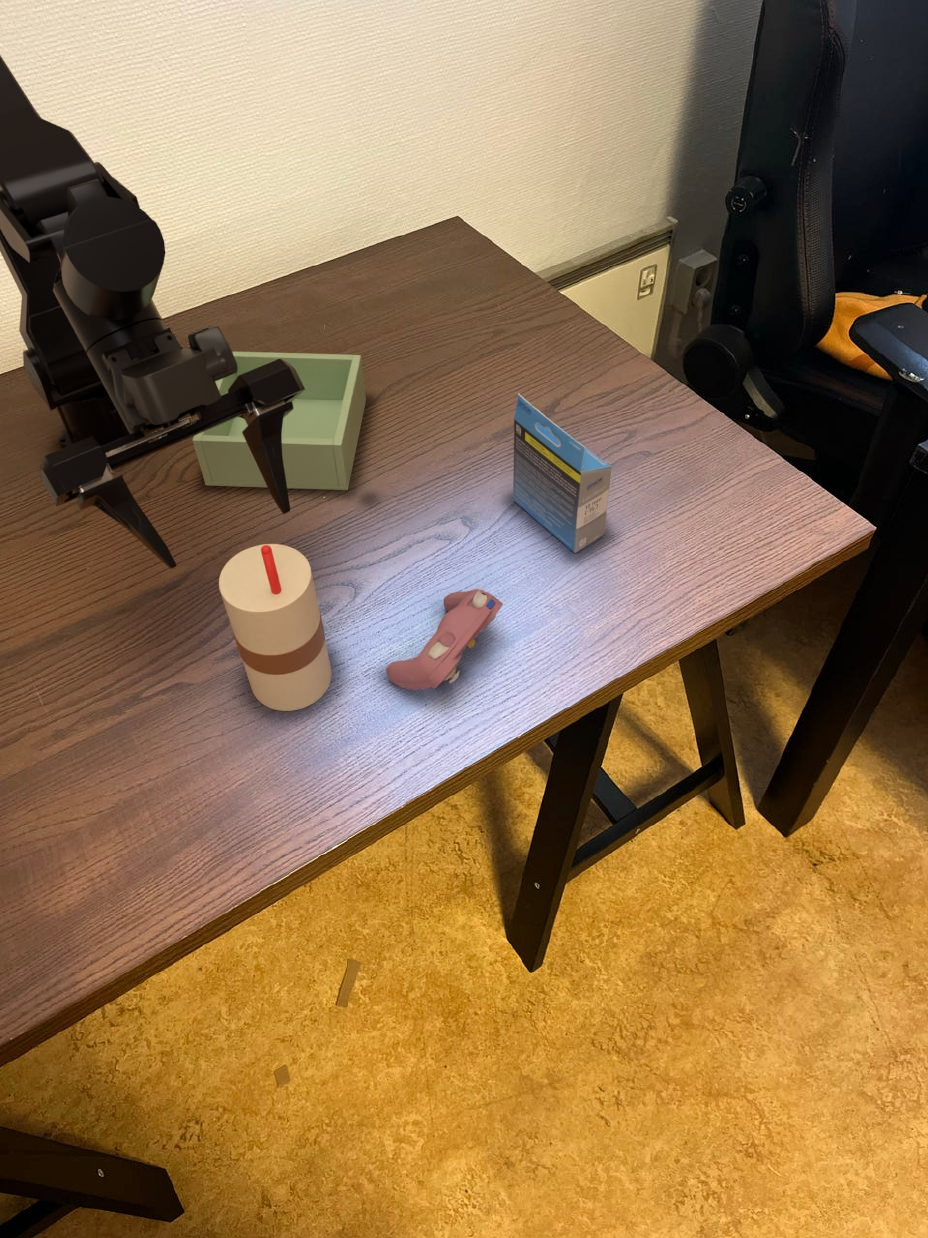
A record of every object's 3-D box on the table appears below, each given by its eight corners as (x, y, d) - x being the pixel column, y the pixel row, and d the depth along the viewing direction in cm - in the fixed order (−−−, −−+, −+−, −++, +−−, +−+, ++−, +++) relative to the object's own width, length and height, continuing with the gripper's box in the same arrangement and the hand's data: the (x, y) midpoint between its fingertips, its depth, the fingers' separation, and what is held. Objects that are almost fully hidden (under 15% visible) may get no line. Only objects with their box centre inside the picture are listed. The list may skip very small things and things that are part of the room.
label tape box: (606, 536, 84) (622, 427, 75) (571, 556, 83) (583, 448, 73) (542, 483, 89) (549, 374, 79) (508, 502, 87) (512, 393, 78)
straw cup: (235, 671, 75) (186, 525, 63) (306, 632, 78) (272, 485, 65) (275, 726, 72) (232, 584, 59) (347, 684, 74) (321, 539, 62)
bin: (205, 485, 89) (191, 440, 85) (236, 396, 98) (225, 350, 93) (347, 490, 88) (341, 444, 84) (366, 399, 97) (361, 354, 93)
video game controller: (422, 714, 74) (454, 686, 68) (377, 677, 74) (406, 645, 68) (486, 631, 79) (522, 597, 74) (445, 596, 79) (477, 559, 73)
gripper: (-13, 355, 55) (119, 593, 58) (269, 252, 62) (375, 469, 65) (-5, 399, 65) (108, 599, 68) (236, 306, 72) (329, 492, 75)
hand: (231, 539), depth 68 cm, fingers open, 9 cm apart
